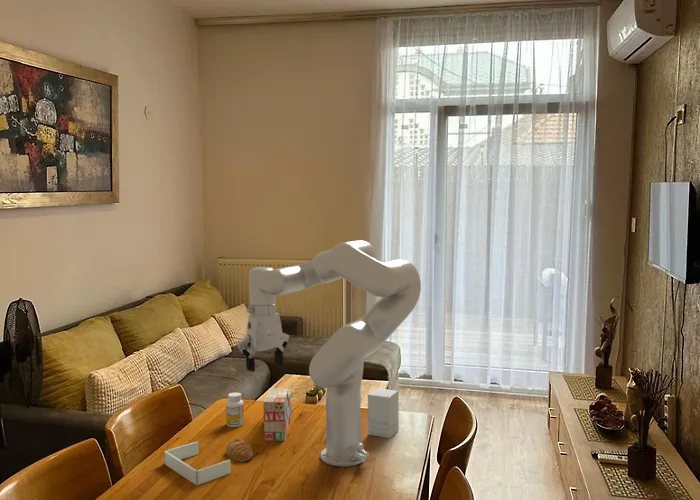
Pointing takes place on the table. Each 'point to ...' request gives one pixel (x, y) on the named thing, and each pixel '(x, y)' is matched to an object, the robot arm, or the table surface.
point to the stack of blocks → (277, 414)
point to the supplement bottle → (234, 410)
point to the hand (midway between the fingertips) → (265, 367)
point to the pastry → (239, 450)
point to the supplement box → (383, 413)
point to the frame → (195, 476)
